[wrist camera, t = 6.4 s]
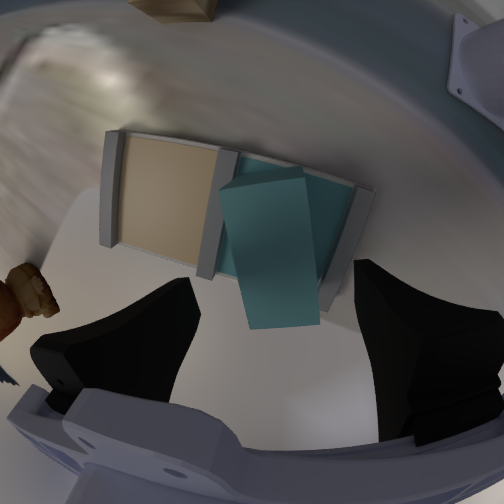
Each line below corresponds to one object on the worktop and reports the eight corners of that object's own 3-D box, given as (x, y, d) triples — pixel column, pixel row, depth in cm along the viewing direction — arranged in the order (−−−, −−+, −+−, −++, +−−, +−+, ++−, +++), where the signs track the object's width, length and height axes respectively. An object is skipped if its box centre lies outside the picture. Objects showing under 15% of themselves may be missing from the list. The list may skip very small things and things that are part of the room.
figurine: (35, 314, 29) (-40, 352, 15) (21, 264, 28) (-60, 290, 14) (71, 314, 27) (-22, 364, 13) (55, 253, 26) (-49, 285, 12)
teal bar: (302, 165, 16) (304, 177, 12) (316, 280, 19) (320, 324, 15) (238, 175, 17) (217, 190, 12) (260, 285, 20) (249, 329, 16)
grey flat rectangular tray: (371, 188, 17) (380, 194, 15) (329, 298, 21) (331, 313, 19) (118, 129, 18) (102, 130, 16) (110, 234, 22) (96, 243, 20)
